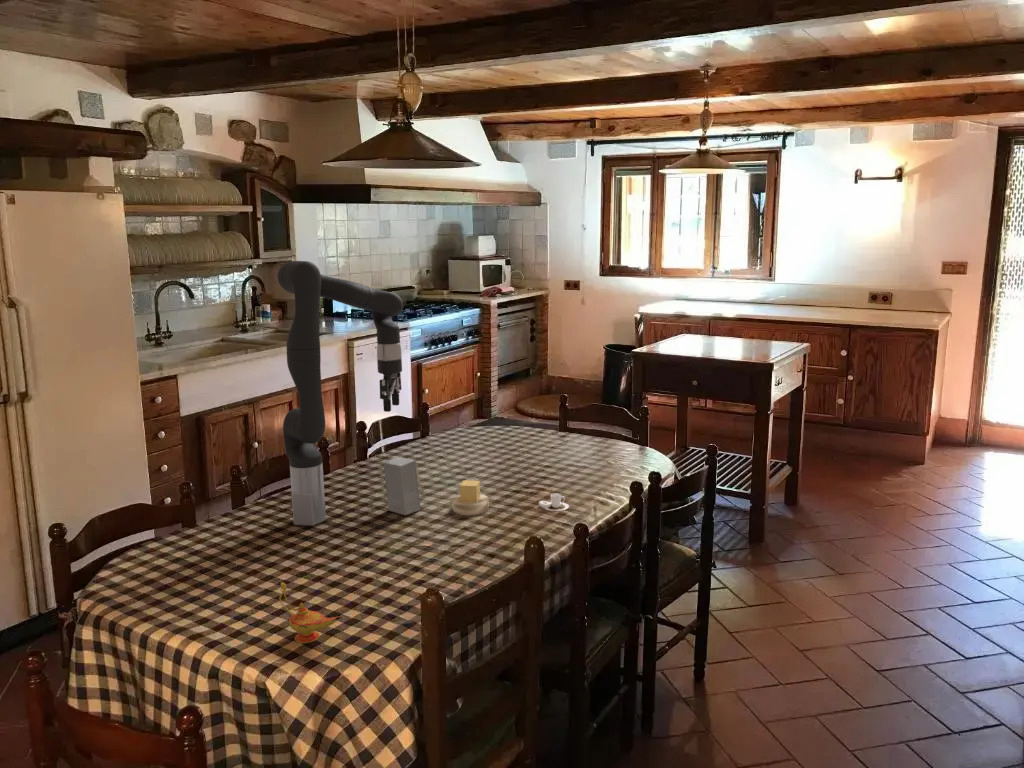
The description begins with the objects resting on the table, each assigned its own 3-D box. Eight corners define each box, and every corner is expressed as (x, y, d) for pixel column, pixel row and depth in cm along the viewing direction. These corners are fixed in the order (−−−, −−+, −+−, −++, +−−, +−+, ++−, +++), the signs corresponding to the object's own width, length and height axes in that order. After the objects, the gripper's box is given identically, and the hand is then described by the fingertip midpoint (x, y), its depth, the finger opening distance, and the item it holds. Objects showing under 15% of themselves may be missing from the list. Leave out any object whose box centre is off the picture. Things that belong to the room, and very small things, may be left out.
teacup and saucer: (535, 509, 248) (535, 496, 247) (547, 501, 255) (547, 488, 254) (562, 513, 244) (561, 500, 243) (573, 505, 250) (573, 493, 250)
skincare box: (421, 510, 247) (419, 460, 244) (402, 517, 242) (400, 465, 239) (403, 504, 253) (401, 455, 250) (384, 510, 248) (382, 460, 244)
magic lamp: (334, 657, 165) (331, 606, 163) (269, 635, 174) (265, 587, 172) (356, 641, 171) (353, 592, 168) (293, 622, 180) (289, 575, 177)
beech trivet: (484, 516, 242) (484, 505, 241) (448, 514, 243) (448, 504, 243) (491, 503, 252) (491, 493, 252) (457, 502, 254) (456, 492, 253)
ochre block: (476, 502, 244) (476, 486, 243) (460, 501, 245) (459, 485, 244) (480, 496, 249) (479, 480, 248) (464, 495, 250) (463, 480, 249)
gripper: (384, 353, 262) (387, 403, 265) (370, 361, 248) (372, 413, 251) (407, 353, 260) (409, 403, 264) (394, 361, 247) (396, 413, 250)
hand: (391, 408), depth 257 cm, fingers open, 8 cm apart
